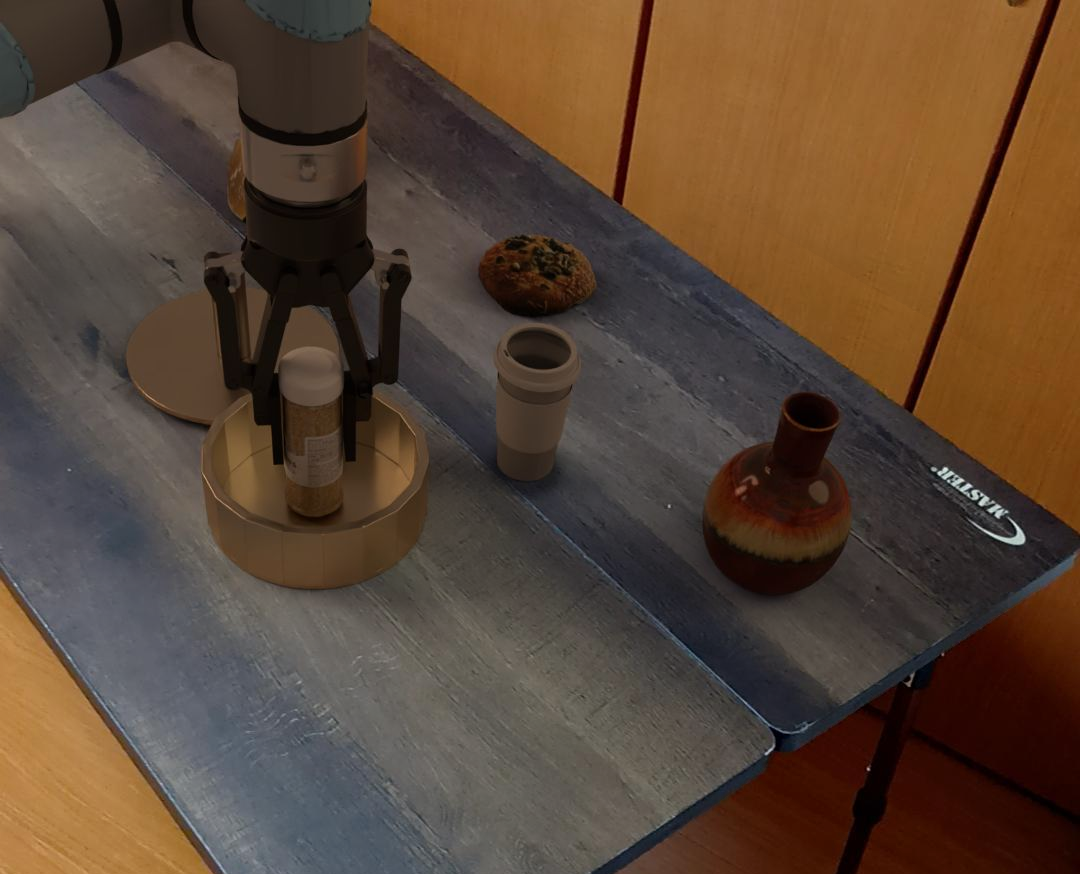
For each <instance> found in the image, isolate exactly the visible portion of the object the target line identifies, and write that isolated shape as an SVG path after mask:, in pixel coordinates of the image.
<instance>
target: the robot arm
mask: <svg viewBox="0 0 1080 874" xmlns="http://www.w3.org/2000/svg"><path fill="white" fill-rule="evenodd" d="M372 3H373V0H0V120H2V119H5V118H11V117H14V116H16V115H18V114H20V113H22V112H24V111H25V110H26V109H27V107H28V106H30V105H32V104H35V103H36V102H38V101H41V100H42V99H45V98H48V97H49V96H52V95H53V94H56V93H58V92H60V91H62V90H64V89H66V88H69V87H70V86H73V85H75V84H77V83H79V82H81V81H83V80H85V79H88V78H90V77H93V76H95V75H99V74H101V73H104V72H105V71H109V70H111V69H115V68H116V67H118V66H121V65H123V64H125V63H127V62H130V61H132V60H134V59H136V58H139V57H141V56H143V55H146V54H148V53H150V52H153V51H154V50H158V49H159V48H162V47H163V46H166V45H167V44H168V45H169V44H170V43H176V42H178V43H182V44H185V45H186V46H189V47H190V48H193V49H196V51H200V52H201V53H202V54H204V55H206V56H208V57H210V58H212V59H215V60H218V61H221V62H223V63H226V64H228V65H229V66H232V68H233V69H234V71H235V77H236V87H237V108H238V109H237V110H238V121H239V133H240V134H239V137H240V136H241V149H242V162H243V173H244V174H245V179H244V195H245V210H246V217H245V222H246V223H245V224H246V236H245V238H244V240H243V241H242V242H241V244H240V245H241V246H240V250H239V251H235V252H231V253H232V254H229V255H226V256H223V257H222V256H221V255H220V253H219V252H217V251H212V250H211V251H209V252H207V253H205V254H204V256H203V283H204V286H205V288H206V290H208V291H209V293H210V295H211V296H212V298H213V300H214V301H215V303H216V309H217V318H218V328H219V337H220V346H221V356H222V365H223V374H224V384H225V387H226V388H227V389H229V390H238V389H240V388H244V389H247V390H249V391H250V392H251V394H252V399H253V412H254V421H255V423H256V424H257V426H266V425H271V434H272V451H273V465H284V459H283V440H282V422H281V403H280V389H279V380H278V373H274V371H275V367H276V363H277V359H278V355H279V351H280V347H281V343H282V339H283V335H284V331H285V327H286V323H288V321H289V317H290V313H291V310H292V308H299V307H303V306H314V307H318V308H329V312H330V315H331V318H332V321H333V322H334V325H335V329H336V331H337V334H338V338H339V340H340V343H341V347H342V350H343V354H344V356H345V360H346V362H347V366H348V370H344V388H343V441H344V451H345V461H346V462H355V461H356V422H361V421H369V419H370V417H371V399H372V396H373V390H374V387H375V386H377V385H380V384H384V385H386V386H391V385H394V384H396V383H397V382H398V380H399V365H400V343H401V322H402V320H401V318H402V301H403V298H404V296H405V294H406V292H407V290H408V288H409V286H410V284H411V282H412V277H413V276H412V270H411V264H410V259H409V254H408V252H407V251H406V249H404V248H395V249H394V250H392V251H391V252H390V253H389V252H385V251H383V250H380V249H376V248H374V245H373V242H372V241H371V239H370V237H368V183H367V179H366V177H367V175H368V99H367V92H368V91H367V87H368V86H367V85H368V62H369V61H368V58H369V40H370V38H369V37H370V21H371V15H372V11H373V10H372ZM370 270H371V271H373V272H374V279H375V283H376V284H377V285H378V286H379V305H378V307H379V308H378V338H377V356H376V357H372V358H370V359H369V358H368V353H367V350H366V347H365V344H364V340H363V337H362V334H361V330H360V327H359V324H358V320H357V317H356V316H357V315H356V313H355V309H354V306H353V302H352V300H351V296H350V293H351V292H352V291H353V290H354V289H355V287H356V286H357V285H358V284H359V283H360V282H361V281H362V279H363V278H364V277H365V276H366V275H367V274H368V272H369V271H370ZM244 272H246V273H247V274H248V275H249V276H250V277H251V278H252V279H253V280H254V281H255V282H256V283H257V284H258V285H259V286H260V287H261V289H262V290H265V291H266V292H267V293H268V295H267V300H266V305H265V309H264V313H263V317H262V322H261V326H260V330H259V334H258V339H257V343H256V347H255V351H254V355H253V360H252V359H251V363H248V362H244V361H242V359H241V348H240V337H239V326H238V315H237V305H236V294H235V292H236V290H237V289H238V288H239V287H240V285H241V275H242V274H243V273H244Z"/></svg>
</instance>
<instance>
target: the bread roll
mask: <svg viewBox="0 0 1080 874" xmlns="http://www.w3.org/2000/svg"><path fill="white" fill-rule="evenodd" d="M477 276H478V277H477V278H478V280H480V283H481V284H482V286H483V288H484V290H485V291H486V293H487V294H488V295H489V296H490V297H491V299H492V300H494V301H495V302H496V303H497V304H498V305H499V306H500V307H501V308H502V309H503V310H505V311H506V312H508V313H512V314H517V315H528V316H541V315H542V314H544V315H553V314H557V313H562V312H565V311H569V310H570V309H572V307H573V306H574V305H581V304H583V303H585V302H586V301H588V300H589V299H590V298H591V296H592V294H593V291H594V290H595V289H596V288H597V281H596V277H595V274H594V270H593V267H592V265H591V263H590V262H589V260H588V258H587V257H586V255H585V254H584V253H583V252H582V251H581V250H579V249H577V248H576V247H575V246H574V245H573V244H572V243H570V242H567V241H566V242H565V243H564V242H560V241H559V240H557V239H556V238H553V237H547V236H544V235H536V234H525V233H524V234H521V235H520V236H518V235H517V234H515V235H514V237H513V236H511V237H507V238H506V239H505V240H502V241H499V242H497V243H495V244H494V245H492V246H491V247H490V248H488V249H486V250H485V252H484V255H483V256H482V258H481V260H480V261H479V263H478V268H477Z"/></svg>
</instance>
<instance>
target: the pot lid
mask: <svg viewBox="0 0 1080 874" xmlns="http://www.w3.org/2000/svg"><path fill="white" fill-rule="evenodd" d="M232 253H233V252H220V253H219V254H220V255H221V256H222V257H223V256H226V255H229V254H232ZM235 294H236V305H237V315H238V326H239V337H240V348H241V359H242V361H244V362H248V363H251V359H252V360H253V355H254V351H255V347H256V343H257V339H258V334H259V330H260V326H261V322H262V317H263V313H264V309H265V305H266V300H267V295H268V293H267V292H266V291H265V290H264V289H263V288H252V287H246V273H245V272H244V273H243V274H242V275H241V285H240V287H239V288H238V289H237V290H236V292H235ZM335 333H336V332H335V331H334V329H333V327H332V326H331V325H330V323H329V322H328V321H327V320H326V319H325V318H324V316H323V315H321V314H320V313H319V312H318V311H317V310H316V309H314V308H313V307H311V305H308V306H303V307H299V308H292V310H291V313H290V317H289V321H288V323H286V327H285V331H284V335H283V339H282V343H281V347H280V351H279V355H278V359H277V363H276V367H275V371H274V373H278V367H279V363H280V361H281V359H282V358H283V357H284V356H285V355H286V354H287V353H289V352H290V351H292V350H295V349H298V348H302V347H320V348H324V349H327V350H329V351H331V352H333V353H334V354H336V355H337V356H338V357H339V358H340V346H339V340H338V338H337V336H336V334H335ZM125 357H126V358H125V362H126V369H127V372H128V376H129V378H130V380H131V383H132V384H133V386H134V387H135V389H136V390H137V391H138V393H139V394H140V395H141V396H142V397H143V398H144V399H145V400H146V401H148V402H149V403H150V404H151V405H153V406H154V407H156V408H157V409H159V410H161V411H162V412H164V413H166V414H168V415H171V416H174V417H176V418H178V419H182V420H185V421H189V422H192V423H197V424H203V425H208V426H209V425H210V426H211V425H212V423H213V421H214V420H215V418H216V417H218V416H219V415H220V414H221V413H222V412H224V411H225V410H226V409H227V408H228V407H230V406H231V405H232V404H233V403H234V402H236V401H237V400H238V399H239V398H241V397H243V396H245V395H248V394H250V393H251V392H250V391H249V390H247V389H244V388H240V389H238V390H229V389H227V388H226V387H225V384H224V374H223V365H222V356H221V346H220V337H219V328H218V318H217V309H216V303H215V301H214V300H213V298H212V296H211V295H210V293H209V291H208V289H204V290H201V291H196V292H192V293H189V294H186V295H182V296H180V297H178V298H175V299H173V300H170V301H168V302H166V303H164V304H163V305H161V306H159V307H158V308H156V309H155V310H154V311H152V312H150V313H149V314H148V315H147V316H146V317H144V318H143V320H141V322H139V324H138V325H137V326H136V327H135V329H134V331H133V332H132V334H131V335H130V338H129V341H128V343H127V346H126V352H125Z"/></svg>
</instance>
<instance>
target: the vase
mask: <svg viewBox="0 0 1080 874" xmlns="http://www.w3.org/2000/svg"><path fill="white" fill-rule="evenodd" d="M840 421H841V412H840V409H839V408H838V406H837V405H836V404H835V402H834V401H832V400H831V399H830V398H828V397H826V396H824V395H822V394H819V393H816V392H811V391H799V392H794V393H791V394H790V395H787V397H786V398H785V399H784V400H783V403H782V405H781V409H780V413H779V419H778V423H777V428H776V433H775V436H774V440H773V441H766V442H761V443H757V444H755V445H751V446H749V447H747V448H744V449H743V450H740V451H739V452H737V453H736V454H734V455H732V457H731V458H729V459H728V460H727V461H726V462H725V463H724V464H723V465H722V466H721V467H720V468H719V470H718V471H717V472H716V474H715V475H714V477H713V478H712V480H711V482H710V485H709V487H708V489H707V491H706V494H705V498H704V502H703V508H702V534H703V538H704V543H705V547H706V550H707V552H708V554H709V557H710V559H711V560H712V562H713V563H714V565H715V566H716V567H717V569H718V570H719V571H720V572H721V573H722V575H724V576H725V577H726V578H727V579H729V580H730V581H731V582H733V583H734V584H736V585H737V586H739V587H741V588H743V589H745V590H748V591H750V592H753V593H757V594H762V595H770V596H771V595H772V596H773V595H774V596H781V595H789V594H792V593H793V594H794V593H796V592H797V593H798V592H799V591H802V590H804V589H807V588H808V587H810V586H812V585H813V584H815V583H816V582H818V581H820V579H822V578H823V577H824V576H825V575H826V574H827V573H828V572H830V570H831V569H832V568H833V566H834V565H835V564H836V562H837V561H838V559H839V558H840V556H841V555H842V554H843V551H844V550H845V547H846V544H847V542H848V539H849V536H850V533H851V530H852V529H851V527H852V521H853V520H852V519H853V510H852V500H851V495H850V493H849V490H848V487H847V484H846V483H845V480H844V479H843V477H842V475H841V474H840V472H839V471H838V470H837V468H836V467H835V466H834V464H832V463H831V462H830V461H829V460H828V459H827V458H826V457H825V456H826V453H827V451H828V448H829V447H830V444H831V442H832V439H833V438H834V435H835V433H836V431H837V429H838V427H839V425H840Z"/></svg>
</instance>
